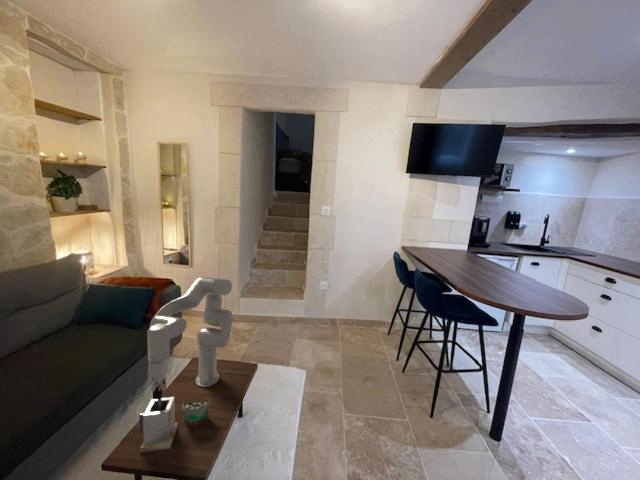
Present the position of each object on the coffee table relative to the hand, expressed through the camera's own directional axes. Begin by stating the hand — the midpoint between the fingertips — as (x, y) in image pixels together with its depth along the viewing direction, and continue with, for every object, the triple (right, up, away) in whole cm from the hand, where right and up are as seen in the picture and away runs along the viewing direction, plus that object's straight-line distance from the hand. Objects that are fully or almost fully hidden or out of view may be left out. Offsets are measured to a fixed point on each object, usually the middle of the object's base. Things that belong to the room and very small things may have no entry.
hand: (159, 393), depth 110 cm
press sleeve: (-3, -19, +3) cm, 20 cm away
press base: (-2, -21, +3) cm, 22 cm away
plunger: (-1, -15, +2) cm, 16 cm away
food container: (+10, -21, +12) cm, 26 cm away
